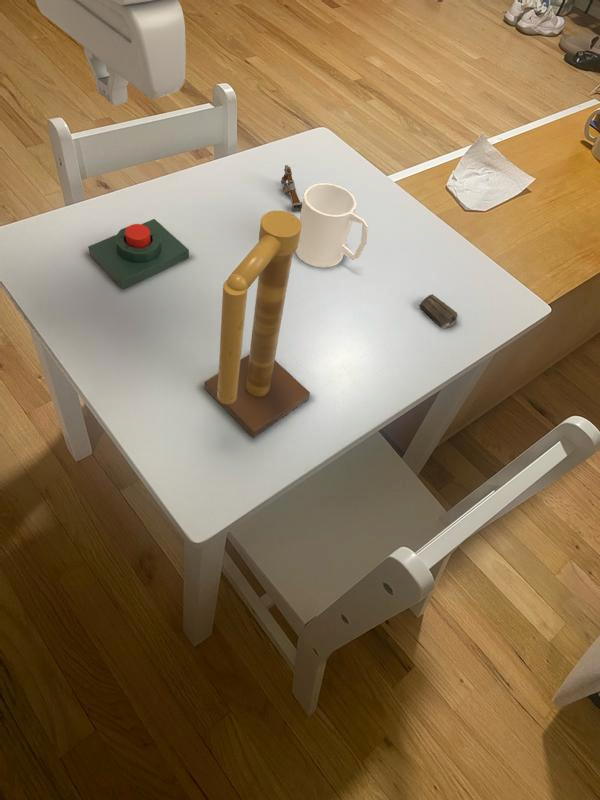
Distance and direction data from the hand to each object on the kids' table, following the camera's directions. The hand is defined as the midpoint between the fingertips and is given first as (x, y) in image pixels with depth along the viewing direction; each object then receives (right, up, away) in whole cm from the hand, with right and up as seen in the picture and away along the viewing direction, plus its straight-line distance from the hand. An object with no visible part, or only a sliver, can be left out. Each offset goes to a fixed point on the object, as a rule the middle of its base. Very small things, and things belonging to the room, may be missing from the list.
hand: (112, 98), depth 62 cm
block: (+41, -18, +33) cm, 56 cm away
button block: (-6, -9, +31) cm, 33 cm away
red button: (-5, -7, +29) cm, 30 cm away
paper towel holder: (+13, -30, +19) cm, 38 cm away
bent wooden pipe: (+13, -27, +9) cm, 32 cm away
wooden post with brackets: (+17, +5, +46) cm, 49 cm away
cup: (+24, -7, +38) cm, 45 cm away
